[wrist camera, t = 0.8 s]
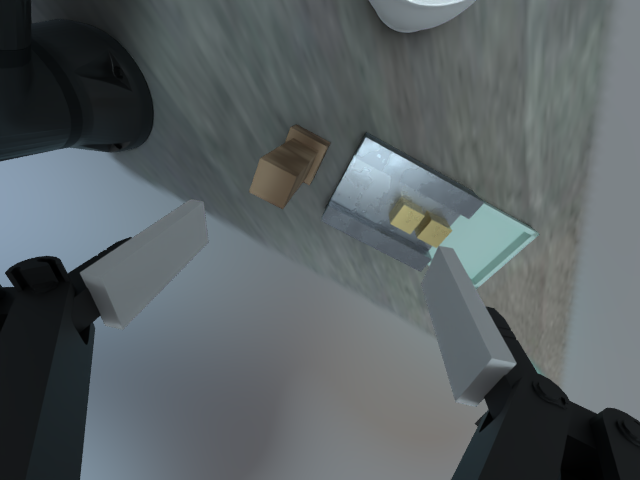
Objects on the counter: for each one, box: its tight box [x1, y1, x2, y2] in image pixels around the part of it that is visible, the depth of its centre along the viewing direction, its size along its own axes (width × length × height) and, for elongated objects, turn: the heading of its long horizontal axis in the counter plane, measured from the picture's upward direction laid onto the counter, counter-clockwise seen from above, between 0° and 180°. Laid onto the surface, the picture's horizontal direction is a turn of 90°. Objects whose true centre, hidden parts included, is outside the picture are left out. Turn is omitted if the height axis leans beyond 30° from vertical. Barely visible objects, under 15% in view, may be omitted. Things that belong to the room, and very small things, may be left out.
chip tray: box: [427, 200, 539, 289], centre depth 36 cm, size 10×11×2 cm
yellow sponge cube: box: [414, 210, 452, 248], centre depth 34 cm, size 3×3×3 cm
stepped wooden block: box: [249, 124, 330, 209], centre depth 29 cm, size 5×6×14 cm
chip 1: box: [389, 196, 425, 234], centre depth 33 cm, size 3×3×3 cm
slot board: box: [321, 132, 484, 272], centre depth 34 cm, size 16×12×4 cm
